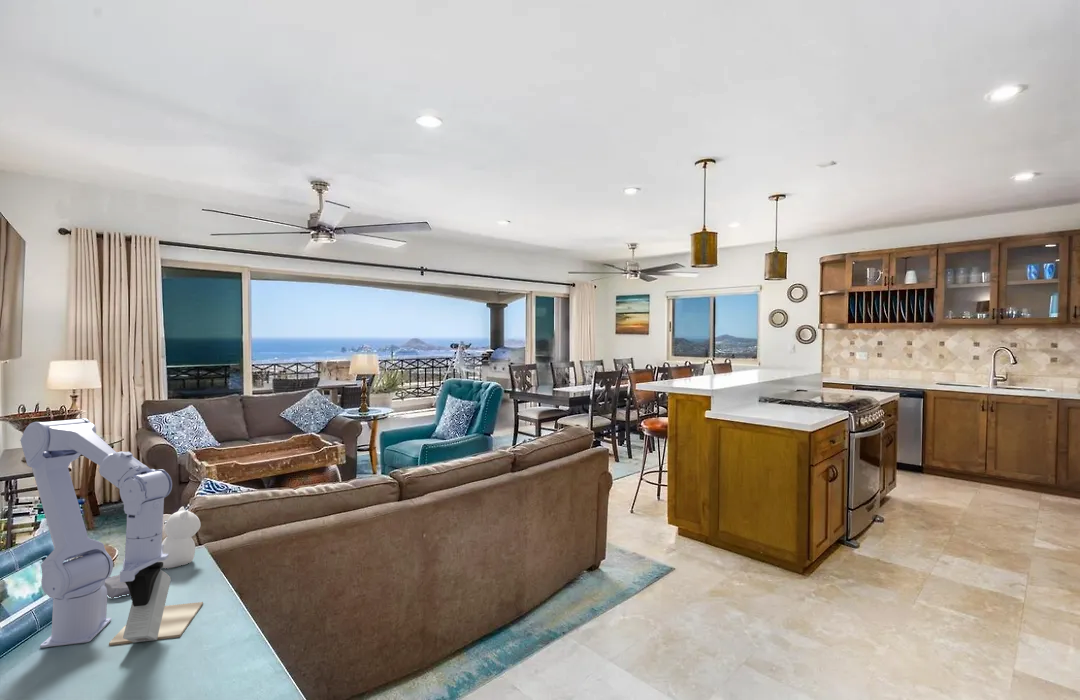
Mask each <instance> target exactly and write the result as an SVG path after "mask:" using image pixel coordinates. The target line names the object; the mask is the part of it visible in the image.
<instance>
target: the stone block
mask: <svg viewBox="0 0 1080 700" xmlns="http://www.w3.org/2000/svg"><path fill="white" fill-rule="evenodd" d="M160 571H163V570H162V569H161V570H160ZM104 586H105V587H106V589H107V595H108V596H109V597H111V598H114V597H119V596H122V595H127V594H130V591H129V589H128V586H127V585H126V583H125V582H120V573H119V574H117V575H112V576H109V578H107V579H106V580H105V585H104Z"/></svg>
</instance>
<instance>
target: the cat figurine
mask: <svg viewBox="0 0 1080 700" xmlns="http://www.w3.org/2000/svg"><path fill="white" fill-rule="evenodd" d="M200 528H201V520H200V518H199V517H198V516H197V515H196V513H194V512H192V511H190V510H186V509H185V506H181V507H180V508H179V509H178V510H177V511H176V512H174V513H171V515H169V517H168V519H167V520H166V523H165V527H164V532H165V534H166V537H165V538H164V539H162V544H164V547H163V554H168V558H167V559H166V560H163V561H158V562H163V567H162V568H161V569H163V568H165V569H166V568H167V569H173V568H177V567H180V566H181V565H182V566H185V565H188V563H189V564H190V563H192V561H194V558H195V554H196V545H195V541H194V539H193V538H192V537H193V536H194V535H196V534H197V532H198V531H199V530H200Z"/></svg>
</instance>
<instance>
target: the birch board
mask: <svg viewBox="0 0 1080 700" xmlns="http://www.w3.org/2000/svg"><path fill="white" fill-rule="evenodd" d="M203 604H204V602H203V601H199V602H190V603H180V604H169V605H165V607H164V611H163V616H162V620H161V625H160V629H159V633H158V638H157V640H158V641H159V640H165V639H174V638H175V639H176V638H180V637H182V635H183V633H184V632H185V630H186V629H187V627H189V625H190V623H191V622H192V621H193V619H194V617H196V615H197V614H198V612H199V610H200V609H201V608H202V607H203ZM125 628H126V624H125V625H124V626H123V627H122V628H121V629H120V630H119V632H117V634H116V635H115V636H114V637H113V638H112V639H111V640H109V642H108V646H114V645H115V646H117V645H124V644H131V643H133V642H132V641H129V640H127V639H124V638H123V635H124V631H125ZM157 640H156V641H157ZM133 644H134V643H133Z"/></svg>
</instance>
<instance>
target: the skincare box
mask: <svg viewBox="0 0 1080 700" xmlns="http://www.w3.org/2000/svg"><path fill="white" fill-rule="evenodd" d="M171 581H172V578H171V576H169V573H167V572H165V571H164V570H162V571H160V572H159V574H158V576H157V578H156V580H155V583H154V587H153V590H152V594H151V597H150V600H149V602H148V604H147V605H145V606H135V607H134V606H133V603H132V602H131V605H130V609H129V613H128V615H127V619H126V620H127V621H126V624H125V625H126V628H125V631H124V635H123V638H124V639H127V640H129V641H132V642H133V644H134V643H142V642H152V641H157V638H158V633H159V629H160V625H161V620H162V616H163V611H164V607H165V606H166V602H167V598H168V593H169V590H170V589H169V588H170V585H171Z"/></svg>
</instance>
